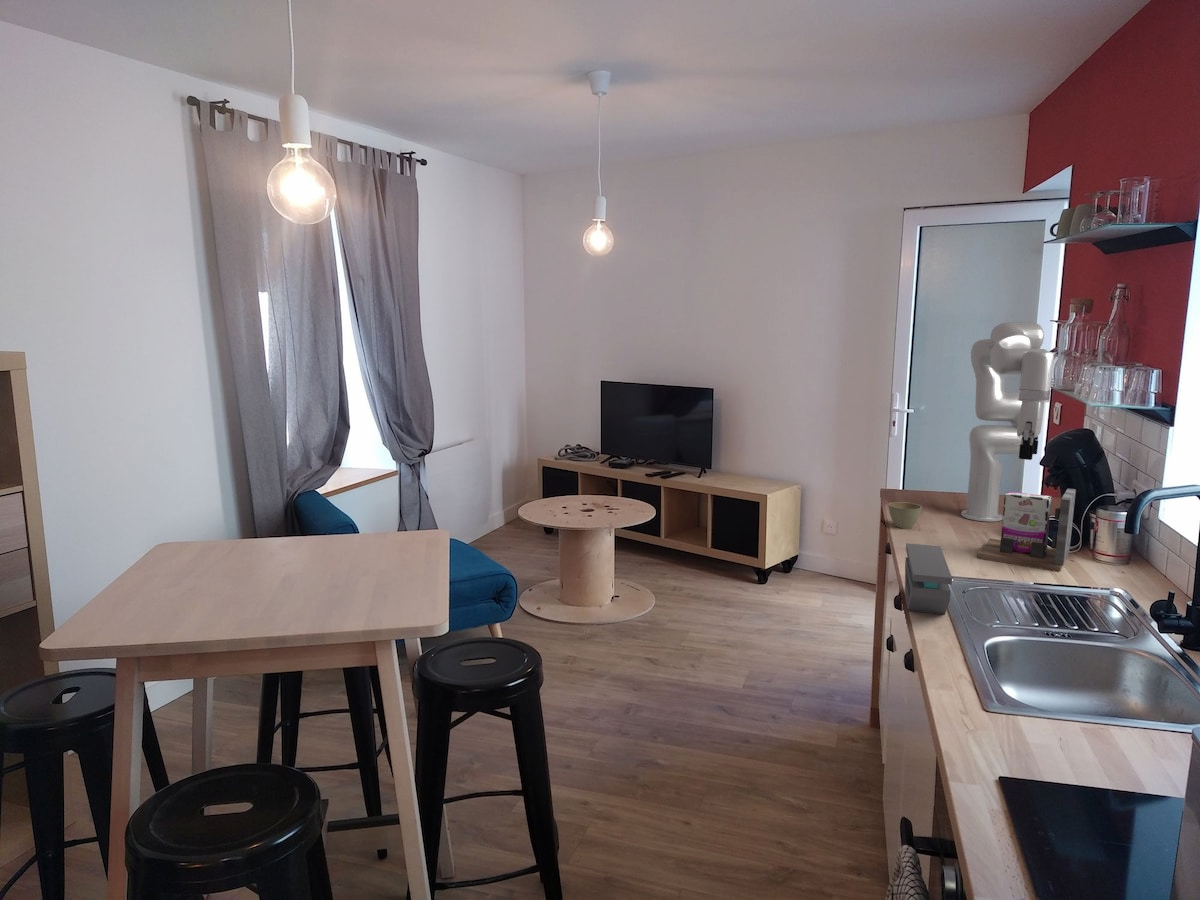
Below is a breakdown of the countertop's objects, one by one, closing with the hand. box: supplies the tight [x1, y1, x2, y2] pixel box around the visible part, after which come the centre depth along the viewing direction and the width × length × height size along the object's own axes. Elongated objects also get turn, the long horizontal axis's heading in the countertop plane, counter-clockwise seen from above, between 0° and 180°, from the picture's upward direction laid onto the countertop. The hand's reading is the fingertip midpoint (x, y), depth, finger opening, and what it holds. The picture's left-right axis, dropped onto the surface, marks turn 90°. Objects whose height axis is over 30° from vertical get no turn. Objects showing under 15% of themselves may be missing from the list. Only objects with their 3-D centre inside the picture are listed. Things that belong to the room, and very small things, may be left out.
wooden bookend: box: [977, 487, 1077, 572], centre depth 214 cm, size 18×20×20 cm
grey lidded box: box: [904, 543, 953, 615], centre depth 179 cm, size 25×8×11 cm, turn 162°
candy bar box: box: [1000, 491, 1052, 556], centre depth 215 cm, size 11×5×16 cm, turn 52°
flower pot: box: [888, 501, 923, 529], centre depth 247 cm, size 10×10×7 cm
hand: (1027, 456), depth 214 cm, fingers open, 9 cm apart
